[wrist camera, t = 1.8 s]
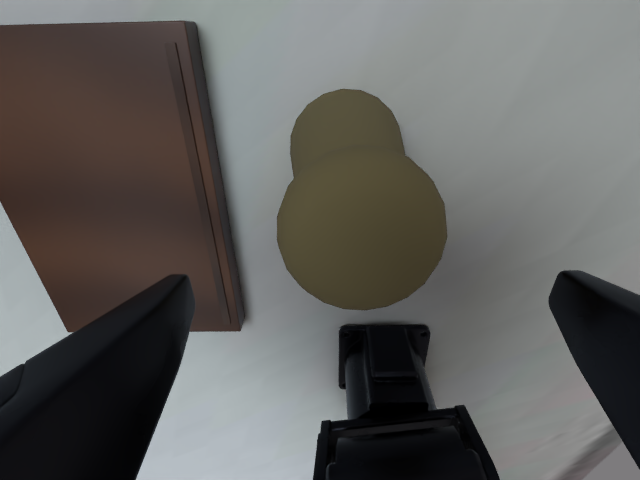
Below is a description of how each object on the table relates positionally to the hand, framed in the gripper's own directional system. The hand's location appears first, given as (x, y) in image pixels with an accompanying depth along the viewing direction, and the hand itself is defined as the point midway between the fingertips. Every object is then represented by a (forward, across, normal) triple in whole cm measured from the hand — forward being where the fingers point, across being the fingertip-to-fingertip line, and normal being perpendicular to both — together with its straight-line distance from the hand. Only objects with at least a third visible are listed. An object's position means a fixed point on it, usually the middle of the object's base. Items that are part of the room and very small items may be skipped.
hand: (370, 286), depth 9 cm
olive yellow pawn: (+12, 0, 0) cm, 12 cm away
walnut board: (+12, +13, +3) cm, 18 cm away
